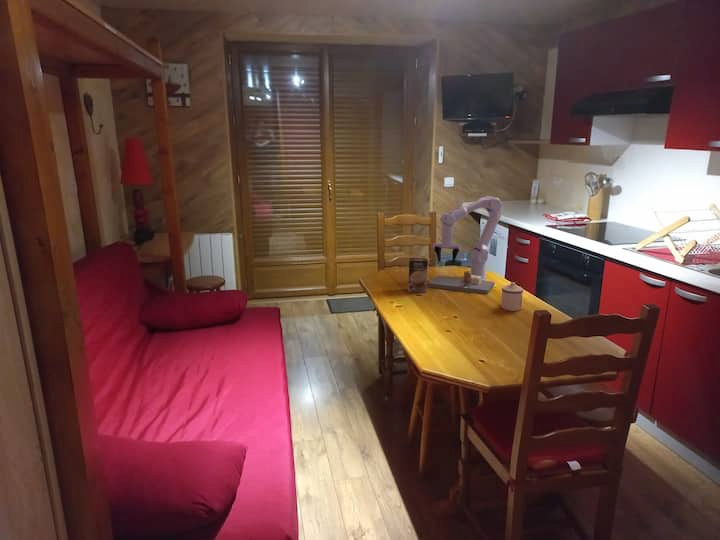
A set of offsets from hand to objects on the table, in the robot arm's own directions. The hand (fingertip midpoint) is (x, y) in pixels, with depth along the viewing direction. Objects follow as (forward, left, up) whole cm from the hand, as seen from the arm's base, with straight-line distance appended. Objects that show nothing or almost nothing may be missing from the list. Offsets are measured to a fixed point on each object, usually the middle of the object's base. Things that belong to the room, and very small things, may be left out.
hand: (446, 262), depth 258 cm
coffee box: (+22, -8, -11) cm, 26 cm away
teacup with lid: (+28, +38, -11) cm, 48 cm away
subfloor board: (+6, +10, -10) cm, 16 cm away
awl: (+10, +14, -8) cm, 19 cm away
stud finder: (+3, +15, -8) cm, 17 cm away
